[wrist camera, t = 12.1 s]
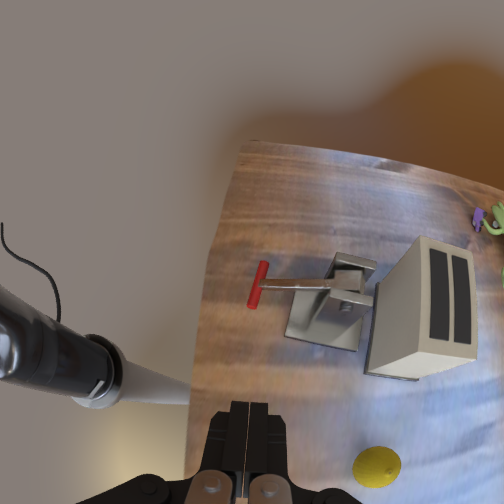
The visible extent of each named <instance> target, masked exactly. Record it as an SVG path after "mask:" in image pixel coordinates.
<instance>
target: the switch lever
mask: <svg viewBox="0 0 504 504" xmlns="http://www.w3.org/2000/svg"><path fill="white" fill-rule="evenodd" d="M268 267H269V263H268V262H267V261H260V263H259V267H258V270H257V273H256V276H255V280H254V283H253V286H252V289H251V293H250V296H249V299H248V302H247V307H248V308H250V309H257V305H258V302H259V298H260V295H261V292H262V290H268V291H304V292H329V290H330V289H331V287H333V288H337V289H341V290H345V291H350V292H354V293H358V294H363V295H364V289H365V279H364V276H363V273H362V271H361V270H358V271H336V272H335V278H334V279H265V278H266V274H267V271H268Z"/></svg>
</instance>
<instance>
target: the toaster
mask: <svg viewBox="0 0 504 504" xmlns="http://www.w3.org/2000/svg"><path fill="white" fill-rule="evenodd" d="M477 347H478V316H477V295H476V282H475V272H474V264H473V256H472V252H471V251H468V250H465V249H462V248H459V247H456V246H453V245H450V244H447V243H444V242H440V241H437V240H434V239H431V238H428V237H424V236H421V235H420V236H419V237H418V238H417V239H416V241H415V242H414V243H413V245H412V246H411V247H410V248H409V250H408V251H407V252H406V253H405V254H404V256H403V257H402V258H401V259H400V261H399V262H398V263H397V264H396V265H395V267H394V268H393V269H392V270H391V271H390V272H389V274H388V275H387V276H386V277H385V278H384V279H383V281H382V282H381V283H379V282H377V283H376V285H375V296H374V306H373V314H372V323H371V330H370V337H369V344H368V350H367V356H366V362H365V368H364V373H363V374H365V375H371V376H378V377H384V378H392V379H399V380H407V381H419V378H421V377H425V376H429V375H432V374H435V373H439V372H442V371H445V370H448V369H452V368H455V367H458V366H461V365H464V364H466V363H469V362H472V361H475V360H477Z"/></svg>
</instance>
